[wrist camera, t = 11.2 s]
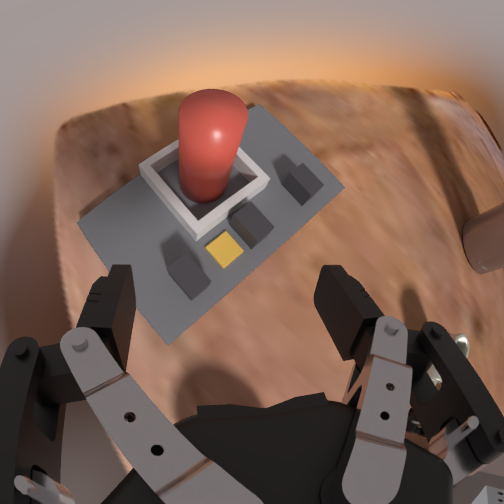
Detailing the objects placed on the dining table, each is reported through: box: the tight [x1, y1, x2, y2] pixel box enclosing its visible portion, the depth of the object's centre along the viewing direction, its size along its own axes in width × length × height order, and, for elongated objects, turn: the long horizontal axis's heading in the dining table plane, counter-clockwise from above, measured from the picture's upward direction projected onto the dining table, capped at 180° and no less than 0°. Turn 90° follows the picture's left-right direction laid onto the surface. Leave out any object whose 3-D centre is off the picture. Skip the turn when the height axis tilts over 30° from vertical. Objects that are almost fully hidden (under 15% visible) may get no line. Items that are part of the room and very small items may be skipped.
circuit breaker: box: [453, 454, 504, 504], centre depth 18 cm, size 8×14×15 cm, turn 122°
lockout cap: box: [179, 89, 248, 204], centre depth 22 cm, size 5×5×10 cm
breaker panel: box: [77, 104, 345, 345], centre depth 26 cm, size 24×14×4 cm, turn 133°
